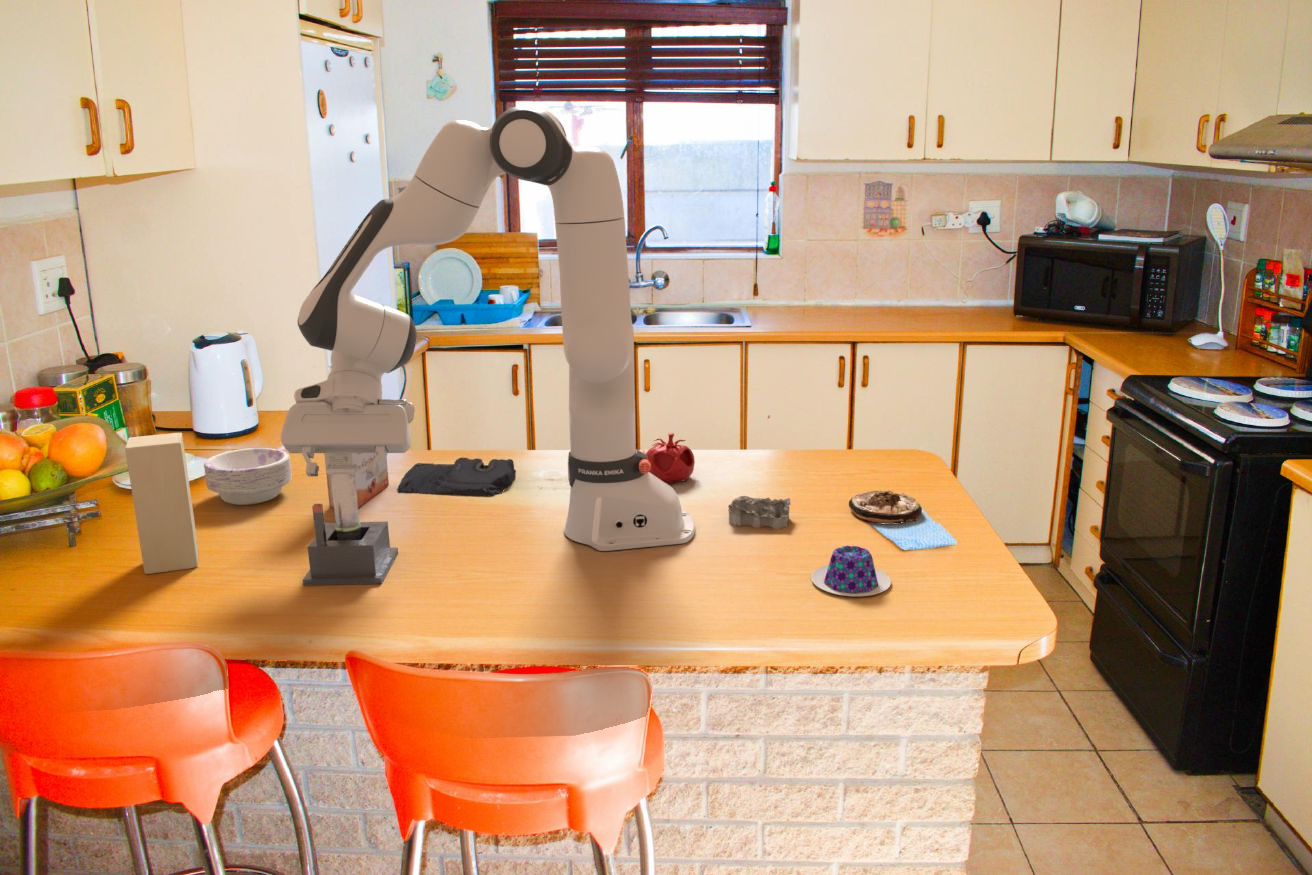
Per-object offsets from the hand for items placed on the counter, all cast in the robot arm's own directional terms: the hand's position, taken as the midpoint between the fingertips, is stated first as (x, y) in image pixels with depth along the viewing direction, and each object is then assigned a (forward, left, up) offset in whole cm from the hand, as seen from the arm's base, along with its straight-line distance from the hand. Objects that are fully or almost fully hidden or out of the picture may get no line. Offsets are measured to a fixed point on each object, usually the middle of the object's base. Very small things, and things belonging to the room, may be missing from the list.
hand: (341, 474), depth 166 cm
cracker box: (+6, -30, -15) cm, 34 cm away
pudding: (-79, +13, -15) cm, 82 cm away
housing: (-1, +4, -15) cm, 15 cm away
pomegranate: (-53, -37, -15) cm, 67 cm away
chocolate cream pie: (-91, -16, -15) cm, 94 cm away
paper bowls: (+27, -31, -15) cm, 44 cm away
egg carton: (-68, -14, -15) cm, 71 cm away
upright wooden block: (+29, 0, -15) cm, 32 cm away
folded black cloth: (-12, -38, -15) cm, 42 cm away
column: (-1, +4, -13) cm, 14 cm away
